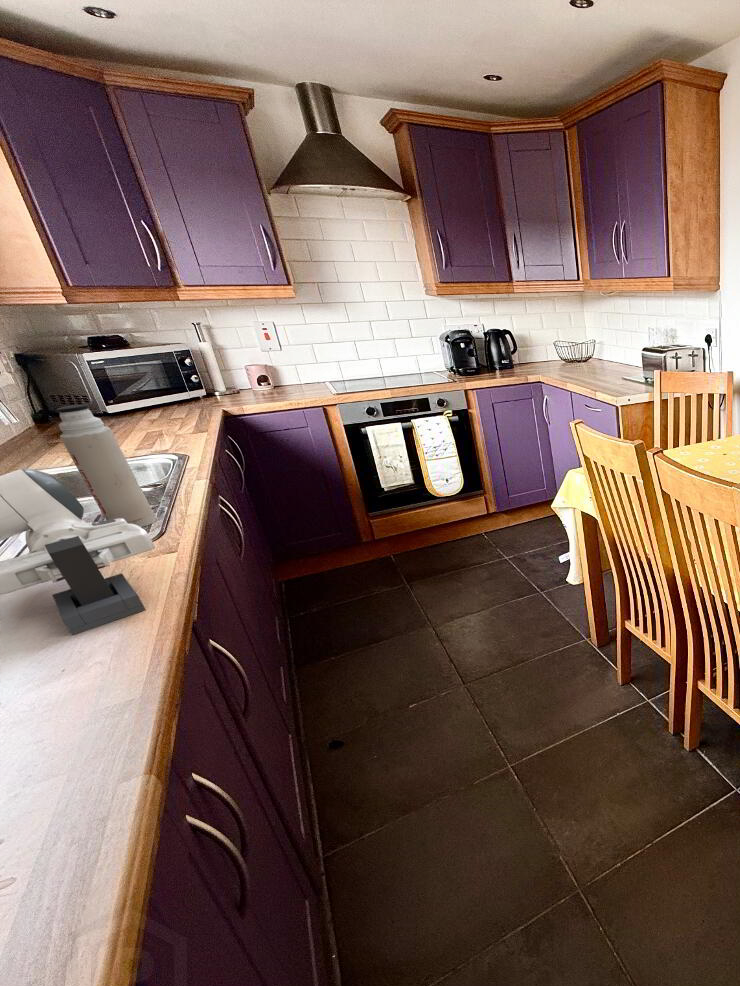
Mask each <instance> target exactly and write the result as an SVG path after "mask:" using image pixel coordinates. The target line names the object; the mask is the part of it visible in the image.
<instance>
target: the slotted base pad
mask: <svg viewBox="0 0 740 986" xmlns="http://www.w3.org/2000/svg"><path fill="white" fill-rule="evenodd" d="M104 579H105V581H106V582H107V584H108V586H109V587H110V589H111V591H112V592H113V594H114V596H112V597H109V598H105V599H102V600H99V601H96V602H93V603H90V604H87V605H84V606H82V605H81V604H80V602H79V601H78V599H77V598H76V596H75V594H74V593H73V591H72V590H71V588H70V589H66V590H63V591H60V592H57V593H53V594H52V595H51V596H52V598H53V600H54V603H55V605H56V607H57V610H58V612H59V615H60V618H61V619H62V621H63V623H64V625H65V626H66V627H67V629H68V631H69V632H70V634H71V635H72V636H74V635H77V634H80V633H83V632H86V631H88V630H92V629H95V628H97V627H101V626H103V625H106V624H109V623H112V622H115V621H117V620H121V619H124V618H127V617H129V616H132V615H136V614H138V613H141V612H144V611H146V608H145V606H144V603H143V601H142V600H141V598H140V596H139V595H138V594H137V592H136V591H135V590H134V588H133V587H132V586H131V584H130V583H129V581H128V579H127V578H126V577H125V576H124V575H123V573H118V574H115V575H112V576H108V577H104Z"/></svg>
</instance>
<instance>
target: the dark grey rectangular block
mask: <svg viewBox="0 0 740 986" xmlns="http://www.w3.org/2000/svg"><path fill="white" fill-rule="evenodd" d="M45 547H46V549H47V551H48V553H49V555H50V557H51V558H52V560H53V561H54V563H55V564H56V566H57V568H58V569H59V571H60V572H61V574H62V575H63V577H64V580H65V581H66V584H67V585H68V587H69V588H70V589H71V590H72V591H73V593H74V594H75V596H76V598H77V599H78V601H79V602H80V604H81V605H82V606H84V605H87V604H90V603H93V602H96V601H99V600H102V599H105V598H109V597H112V596H114V594H113V592H112V591H111V589H110V587H109V586H108V584H107V582H106V581H105V577H104V575H103V574H102V572H101V570H100V569H98V567H97V566H96V564H95V562H94V561H93V559H92V557H91V556H90V554H89V552H88V551H87V549H86V547H85V546H84V544H83V543H82V541H81V539H80V538H79V536H76V537H72V538H69V539H65V540H61V541H58V542H54V543H50V544H46V545H45Z"/></svg>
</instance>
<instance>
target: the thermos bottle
mask: <svg viewBox="0 0 740 986" xmlns="http://www.w3.org/2000/svg"><path fill="white" fill-rule="evenodd" d="M56 412H57V413H58V414H59V418H60V420H61V422H60V423H59V424H58V428H59V431H61V432H62V434H61V435H59V438H60V440H61V442H62V444H63V446H64V448H65V449H66V451H67V452H68V454H69V456H70V458H71V460H72V461H73V463H74V465H75V467H76V469H77V470H78V472H79V474H80V476H81V477H82V480H83V481H84V483H85V485H86V487H87V488H88V490H89V492H90V494H91V496H92V498H93V500H94V502H95V503H96V504H97V505H96V506H98V509H99V510H100V512H101V514H102V515H103V517H104V519H105V520H111V519H118V518H122V519H125V521H126V522H127V523H128V524H135V525H137V526H139V527H141V528H144V527H147V526H150V525H152V524H154V523H155V522H156V521H157V517H156V515H155V512H154V511H153V509H152V507H151V505H150V503H149V501H148V500H147V498H146V495H145V494H144V492H143V490H142V489H141V487H140V485H139V483H138V480H137V478H136V476H135V474H134V472H133V470H132V468H131V467H130V464H129V462H128V460H127V459H126V457H125V454H124V453H123V451H122V449H121V446H120V445H119V443H118V440H117V439H116V437H115V435H114V433H113V431H112V429H111V428H110V427H109V426H105V423H104V422H103V420H102V419H101V418H100V417H96V416H94V414H93V413H92V411H91V410H90V405H89V404H85V403H84V404H73V405H65V406H62V407H58V408H56Z"/></svg>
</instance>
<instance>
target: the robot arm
mask: <svg viewBox="0 0 740 986" xmlns="http://www.w3.org/2000/svg"><path fill="white" fill-rule="evenodd" d="M84 512H85V509H84V506H83V505H82V504H81V502H80V501H79V500H78V499H77V497H76V496H75V495H74V494H73V492H71V490H70V489H69V488H68V487H67V486H66V485H64V484H63V483H62V482H61V481H60V480H59V479H57V478H56V477H54V476H53V475H51V474H50V473H47V472H44V471H41V470H37V469H32V468H25V467H22V468H19V469H16V470H13V471H10V472H8V473H4V474H1V475H0V542H2V541H4V540H7V539H9V538H12V537H14V536H17V535H20V534H21V533H24V532H25V543H26V547H27V548H28V552H29V553H26V554H23V555H19V556H15V557H11V558H7V559H3V560H1V561H0V595H1V596H2V595H6V594H9V593H12V592H16V591H20V590H22V589H27V588H29V587H33V586H36V585H40V584H44V583H47V582H52V583H53V584H54V583H57V582H60V581H63V580H65V579H64V577H63V575H62V574H61V572H60V571H59V569H58V568H57V566H56V564H55V563H54V561H53V560H52V558H51V557H50V555H49V553H48V551H47V549H46V547H45V545H46V544H50V543H54V542H58V541H61V540H65V539H69V538H72V537H76V536H79V538H80V539H81V541H82V543H83V544H84V546H85V547H86V549H87V551H88V552H89V554H90V556H91V557H92V559H93V561H94V562H95V564H96V566H97V567H98V569H99V570H101V569H104V568H108V567H110V564H111V563H113V562H117V561H121V560H125V559H128V558H130V557H131V558H132V557H134V556H138V555H141V554H145V553H148V552H151V551H153V550H154V549H155V544H154V542H153V540H152V538H151V537H150V535H149V533H148V532H147V531H146V530H145V529H144V527H139V526H137V525H135V524H128V523H127V522H126V521H125V519H122V518H118V519H111V520H106V519H105V520H99V521H93V522H86V521H85V520H84V519H83V518H84V514H85V513H84Z"/></svg>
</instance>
